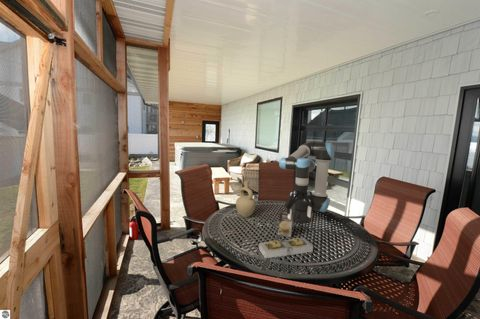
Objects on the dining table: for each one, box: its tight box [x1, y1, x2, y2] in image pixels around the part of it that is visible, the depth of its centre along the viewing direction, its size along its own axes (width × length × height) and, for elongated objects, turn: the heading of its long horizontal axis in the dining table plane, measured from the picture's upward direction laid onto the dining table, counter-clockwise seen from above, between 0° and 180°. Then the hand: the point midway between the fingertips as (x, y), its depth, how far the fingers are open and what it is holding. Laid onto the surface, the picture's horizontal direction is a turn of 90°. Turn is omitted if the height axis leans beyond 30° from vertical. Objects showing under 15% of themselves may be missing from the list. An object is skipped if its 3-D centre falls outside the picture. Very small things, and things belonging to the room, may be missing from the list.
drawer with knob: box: [268, 240, 281, 249], centre depth 135 cm, size 5×5×6 cm
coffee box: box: [277, 209, 294, 238], centre depth 158 cm, size 9×6×16 cm
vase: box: [235, 180, 257, 218], centre depth 189 cm, size 17×17×30 cm
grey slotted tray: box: [258, 237, 314, 259], centre depth 137 cm, size 31×10×4 cm, turn 107°
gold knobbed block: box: [290, 237, 303, 247], centre depth 139 cm, size 5×5×6 cm
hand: (299, 217), depth 139 cm, fingers open, 13 cm apart
